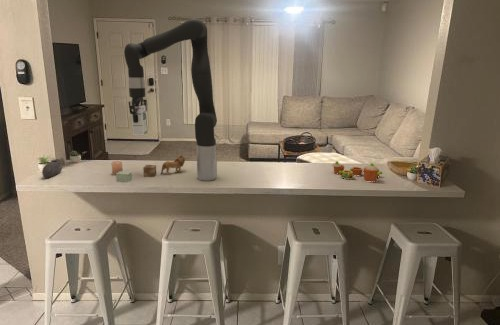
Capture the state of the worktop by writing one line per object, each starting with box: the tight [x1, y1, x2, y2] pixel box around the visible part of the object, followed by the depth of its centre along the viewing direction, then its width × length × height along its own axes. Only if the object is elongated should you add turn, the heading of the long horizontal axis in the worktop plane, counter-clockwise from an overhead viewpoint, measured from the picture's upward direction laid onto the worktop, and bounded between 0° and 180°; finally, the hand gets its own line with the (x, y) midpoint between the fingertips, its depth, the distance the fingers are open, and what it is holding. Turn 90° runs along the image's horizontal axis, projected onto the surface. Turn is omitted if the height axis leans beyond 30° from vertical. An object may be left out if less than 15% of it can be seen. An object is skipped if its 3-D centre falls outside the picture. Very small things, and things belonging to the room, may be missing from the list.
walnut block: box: [142, 164, 157, 178], centre depth 181 cm, size 5×5×5 cm
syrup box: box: [130, 105, 148, 137], centre depth 176 cm, size 6×6×14 cm
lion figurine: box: [159, 154, 186, 176], centre depth 186 cm, size 15×5×9 cm, turn 133°
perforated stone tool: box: [41, 158, 63, 179], centre depth 177 cm, size 15×5×7 cm, turn 179°
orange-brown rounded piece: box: [111, 160, 124, 176], centre depth 182 cm, size 5×5×6 cm
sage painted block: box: [115, 170, 133, 183], centre depth 172 cm, size 6×4×4 cm, turn 81°
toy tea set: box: [331, 160, 383, 182], centre depth 187 cm, size 26×16×10 cm, turn 71°
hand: (139, 121), depth 177 cm, fingers closed on syrup box, 6 cm apart
